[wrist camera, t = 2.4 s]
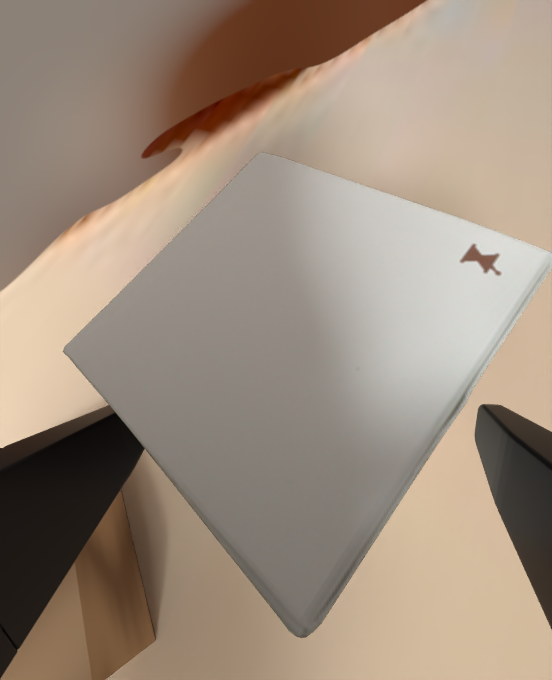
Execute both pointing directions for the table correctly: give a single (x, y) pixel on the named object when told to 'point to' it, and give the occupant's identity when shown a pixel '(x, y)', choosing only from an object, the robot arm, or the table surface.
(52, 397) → the table surface
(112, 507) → the stand block
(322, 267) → the supplement box
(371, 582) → the table surface
